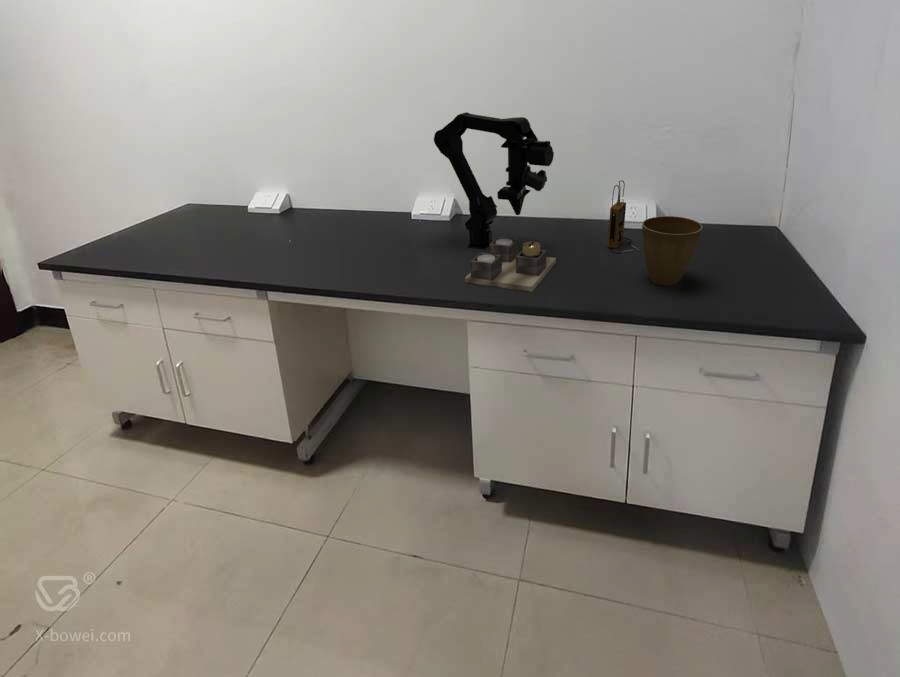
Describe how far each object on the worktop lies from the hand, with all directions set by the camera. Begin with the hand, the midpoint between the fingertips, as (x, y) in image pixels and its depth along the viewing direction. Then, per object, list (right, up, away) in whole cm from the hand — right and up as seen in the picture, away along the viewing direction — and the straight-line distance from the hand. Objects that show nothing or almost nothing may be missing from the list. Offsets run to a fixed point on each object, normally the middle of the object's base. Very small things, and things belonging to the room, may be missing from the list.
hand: (518, 214), depth 183 cm
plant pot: (+38, -22, -20) cm, 48 cm away
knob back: (-4, -13, -2) cm, 14 cm away
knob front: (-10, -20, -13) cm, 26 cm away
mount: (-3, -19, -8) cm, 21 cm away
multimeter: (+35, -9, +4) cm, 36 cm away
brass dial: (+2, -16, -13) cm, 21 cm away
